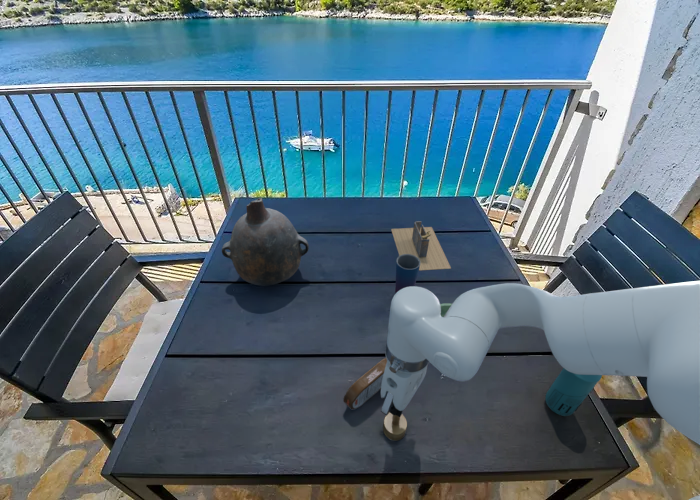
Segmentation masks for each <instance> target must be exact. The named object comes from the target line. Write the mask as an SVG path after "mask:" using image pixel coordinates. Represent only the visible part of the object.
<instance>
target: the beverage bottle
mask: <svg viewBox="0 0 700 500" xmlns="http://www.w3.org/2000/svg"><path fill="white" fill-rule="evenodd" d="M602 377H603V375H579V374H574V373H571V372H569V371H567V370H566V369H565V368H563V367H562V369H561V371H560V373H559V374H557V376H556V377H555V379H554V380H553V382H552V383H551V385H550V386H549V387H548V389H547V390H546V392H545V403H546V405H547V407H548V408H549V409H550V410H551V411H552V412H554V413H555V414H557V415H559V416H563V417H568V416H572V415H574V413H575V412H577V410H578V409H579V408H580V406H582V404H583V402H584V401H585V400H586V398H587V397H588V396H589V395H590V394H591V393H592V392H593V391H594V389H595V387H596V386H597V384H598V382H600V381H601V379H602Z"/></svg>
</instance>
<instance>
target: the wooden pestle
mask: <svg viewBox="0 0 700 500" xmlns="http://www.w3.org/2000/svg"><path fill="white" fill-rule="evenodd" d="M407 428H408V421H407V418H406V417H405V415H404V414H402V415H401V417H398V416H397V415H392V414H391V413H389V414H388V415H387V416H386V415H385V416H384V418H383V424H382V430H383V434H384V435H385V437H386V438H387V439H389V440H391V441H395V442H396V441H400V440H402V439H403V438H404V437H405V435H406V432H407Z"/></svg>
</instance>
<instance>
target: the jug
mask: <svg viewBox="0 0 700 500" xmlns="http://www.w3.org/2000/svg"><path fill="white" fill-rule="evenodd" d="M245 207H246V213H244V214H243V215H242V216H240V217H239V218H238V219H237V221H236V222H235V224H234V226H233V228H232V231H231V235H230V239H229V240H228V241H227V242H225V243H224V244H223V245H222V247H221V253H222V256H223V257H224V258H227V259H228V260H229V259H230V260H231V262H232V264H233V267H234V269H235V271H236V273H237V275H238V276H239V277H240V278H241V279H242V280H243V281H245V282H246V283H249V284H252V285H256V286H272V285H277V284H279V283H283V282H285V281H287V280H289V279H290V278H291V277H293V276H294V275H295V274H296V272H297V271H298V269H299V267H300V264H301V259H302V257H303V256H305V255H306V254H308V252H309V248H310V245H309V241H308V240H307V239H306V238H305V237H303V236H301V235H300V234H299V233H298V231H297V229H296V227H294V224H293V223H292V222H291V220H289V218H288V217H287V216H286V215H285V214H283V213H282V212H280V211H279V210H276V209H273V208H269V207H266V206H265V204H264V201H263V198H262V197H257V199H255V200H251V201H250V202H249V203H248V204H247V205H246V206H245ZM301 245H303V246H304V247H305V248H302V246H301ZM227 250H228V251H227Z"/></svg>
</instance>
